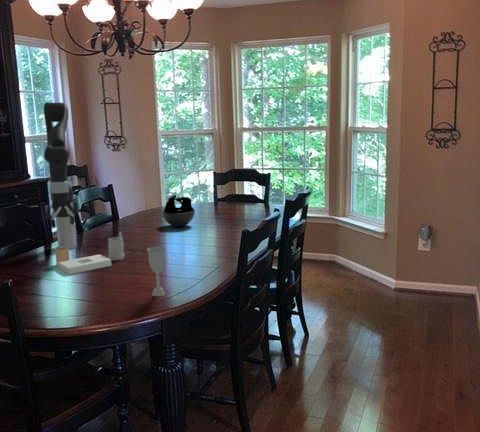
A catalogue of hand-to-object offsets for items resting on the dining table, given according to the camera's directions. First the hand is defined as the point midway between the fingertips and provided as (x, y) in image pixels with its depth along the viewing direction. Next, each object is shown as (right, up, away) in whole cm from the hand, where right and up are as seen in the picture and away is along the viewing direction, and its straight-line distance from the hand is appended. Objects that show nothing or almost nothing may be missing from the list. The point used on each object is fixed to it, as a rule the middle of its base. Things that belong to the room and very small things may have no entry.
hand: (62, 226), depth 236 cm
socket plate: (+11, -19, -1) cm, 22 cm away
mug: (+22, -16, +15) cm, 31 cm away
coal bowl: (+44, -2, +82) cm, 93 cm away
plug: (-1, -18, +3) cm, 19 cm away
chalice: (+50, -26, -38) cm, 68 cm away
